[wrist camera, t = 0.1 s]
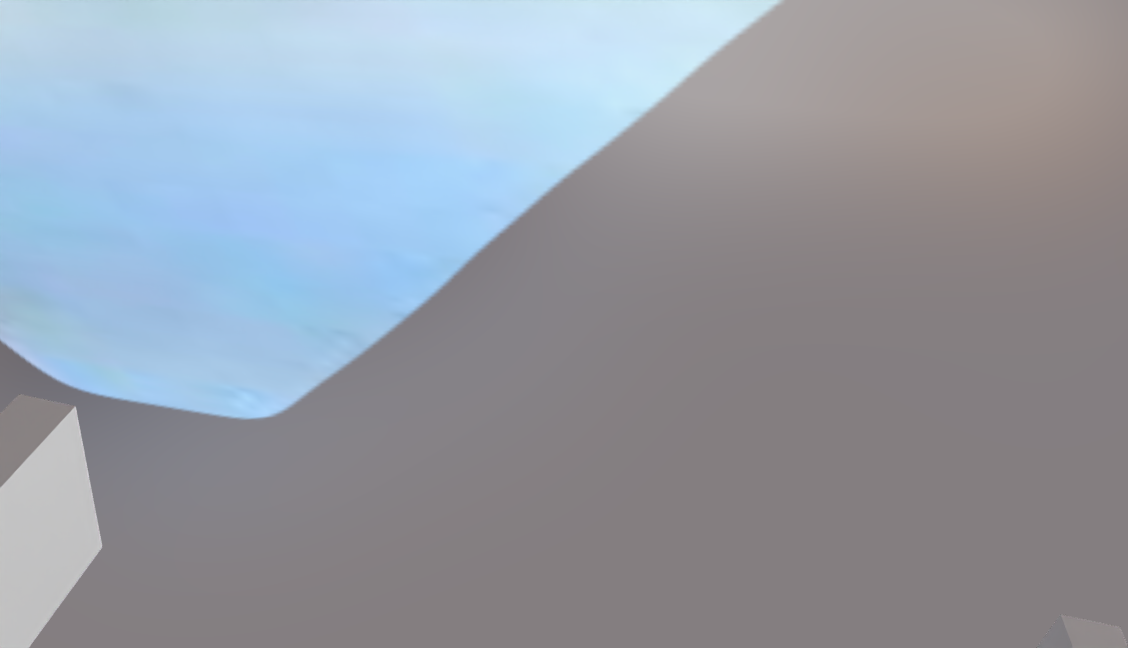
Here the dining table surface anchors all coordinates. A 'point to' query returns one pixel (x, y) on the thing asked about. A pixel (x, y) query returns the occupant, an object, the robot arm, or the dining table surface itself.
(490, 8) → the dining table surface
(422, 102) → the dining table surface
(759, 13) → the dining table surface
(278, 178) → the dining table surface
